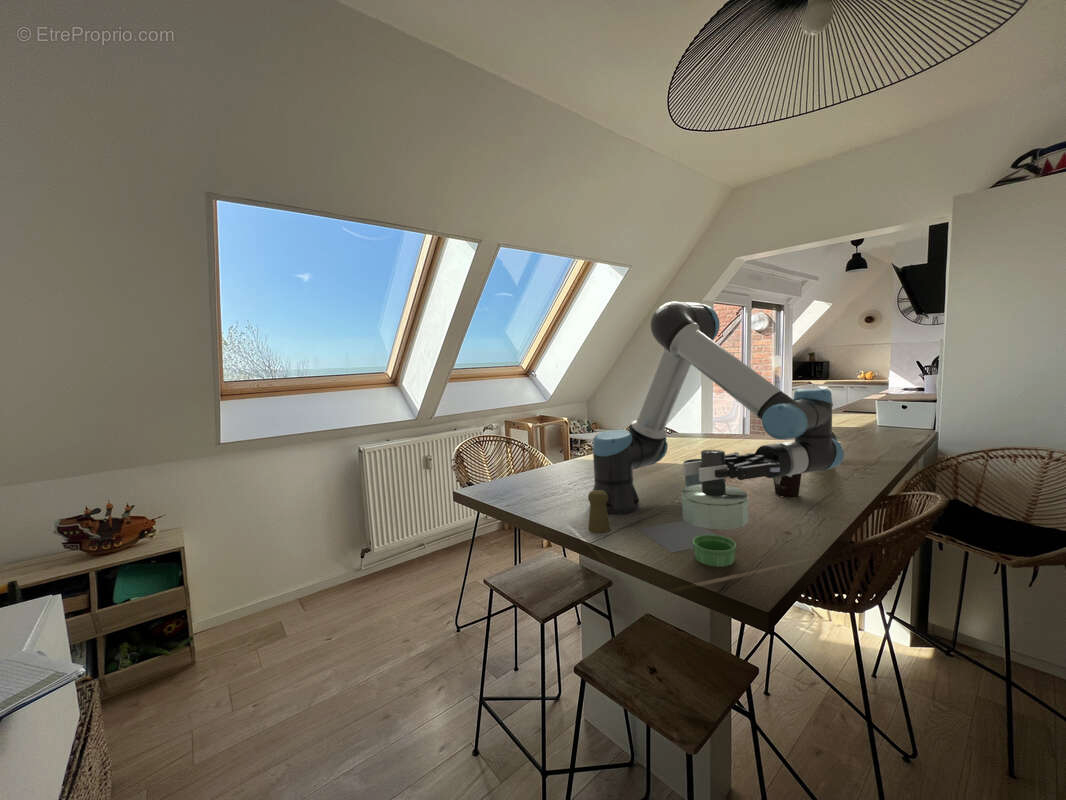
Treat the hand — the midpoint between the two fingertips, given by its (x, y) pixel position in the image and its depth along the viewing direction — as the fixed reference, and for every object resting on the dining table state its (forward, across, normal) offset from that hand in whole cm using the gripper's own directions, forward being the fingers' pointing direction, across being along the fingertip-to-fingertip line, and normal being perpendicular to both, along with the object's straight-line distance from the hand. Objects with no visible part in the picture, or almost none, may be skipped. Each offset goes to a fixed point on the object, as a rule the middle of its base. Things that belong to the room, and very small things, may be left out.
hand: (692, 472), depth 97 cm
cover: (-5, 0, -11) cm, 12 cm away
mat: (-6, +14, -21) cm, 26 cm away
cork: (+11, +26, -21) cm, 35 cm away
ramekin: (-5, 0, -21) cm, 22 cm away
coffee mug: (-56, +31, -21) cm, 68 cm away
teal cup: (-29, +37, -21) cm, 52 cm away
